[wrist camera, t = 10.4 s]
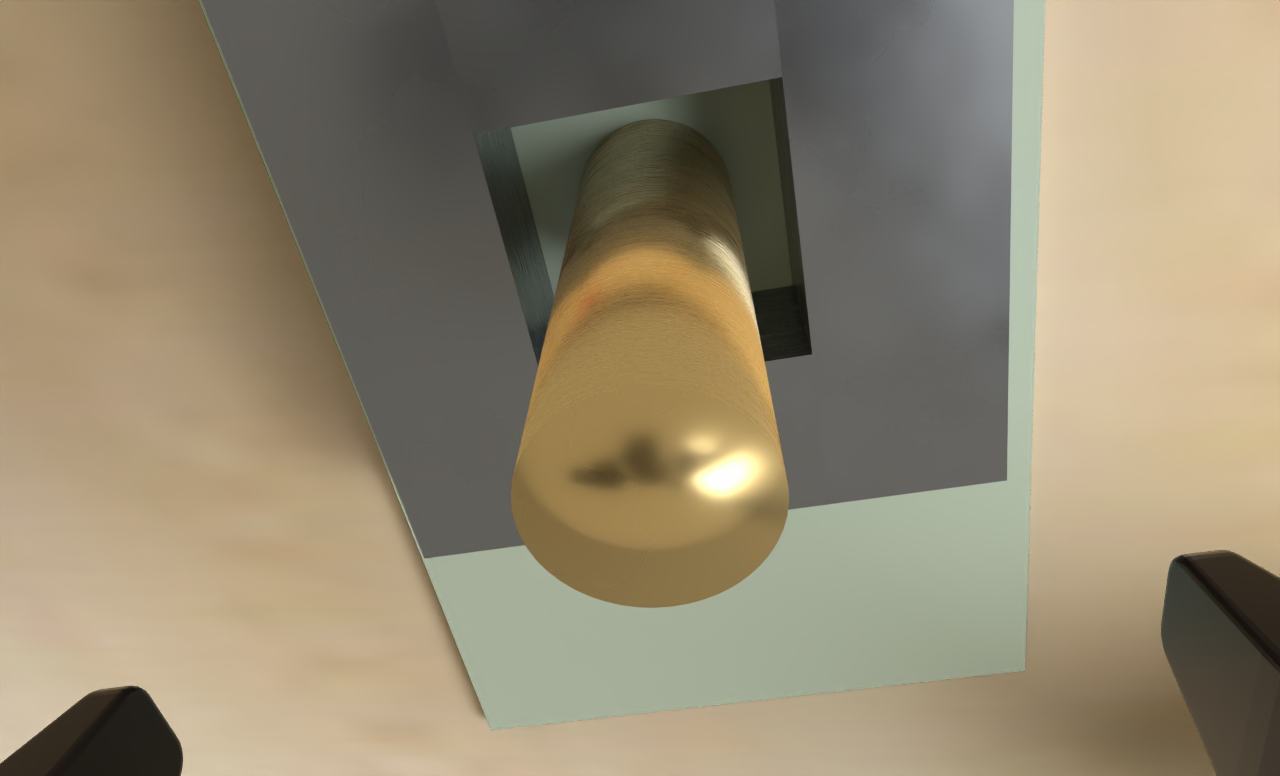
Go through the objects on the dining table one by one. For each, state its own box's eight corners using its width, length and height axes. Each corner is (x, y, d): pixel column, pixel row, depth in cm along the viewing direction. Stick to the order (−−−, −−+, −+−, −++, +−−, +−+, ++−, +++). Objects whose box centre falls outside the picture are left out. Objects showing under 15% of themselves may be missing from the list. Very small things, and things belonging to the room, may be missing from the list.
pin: (739, 251, 19) (801, 590, 11) (597, 274, 20) (547, 622, 11) (719, 105, 18) (772, 365, 9) (565, 134, 18) (477, 409, 10)
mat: (1020, 659, 26) (1024, 670, 25) (493, 718, 27) (491, 730, 27) (1044, -247, 15) (1053, -249, 15) (185, -60, 17) (175, -58, 16)
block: (964, 400, 21) (1007, 480, 18) (452, 474, 22) (424, 558, 20) (955, -228, 15) (1017, -239, 12) (255, -75, 16) (178, -57, 14)
